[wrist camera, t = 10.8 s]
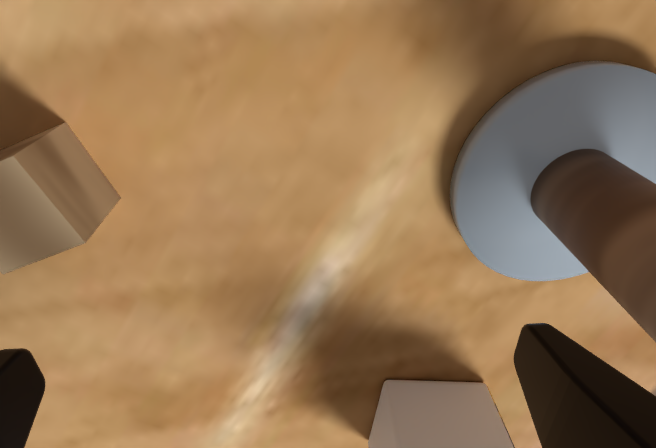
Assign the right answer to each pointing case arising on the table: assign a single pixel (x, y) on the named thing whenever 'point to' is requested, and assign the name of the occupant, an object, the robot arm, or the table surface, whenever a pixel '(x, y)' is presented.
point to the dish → (546, 159)
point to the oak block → (49, 197)
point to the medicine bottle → (437, 416)
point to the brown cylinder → (604, 225)
